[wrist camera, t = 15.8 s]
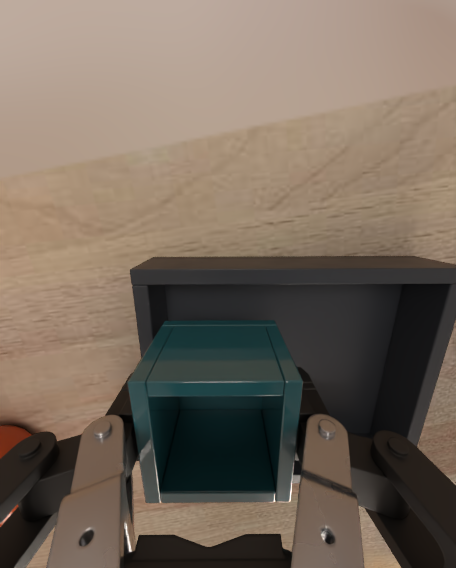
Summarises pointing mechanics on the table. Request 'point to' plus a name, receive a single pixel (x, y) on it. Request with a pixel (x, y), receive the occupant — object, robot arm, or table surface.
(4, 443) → the tomato
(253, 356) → the box teal
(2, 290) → the table surface
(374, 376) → the tray
